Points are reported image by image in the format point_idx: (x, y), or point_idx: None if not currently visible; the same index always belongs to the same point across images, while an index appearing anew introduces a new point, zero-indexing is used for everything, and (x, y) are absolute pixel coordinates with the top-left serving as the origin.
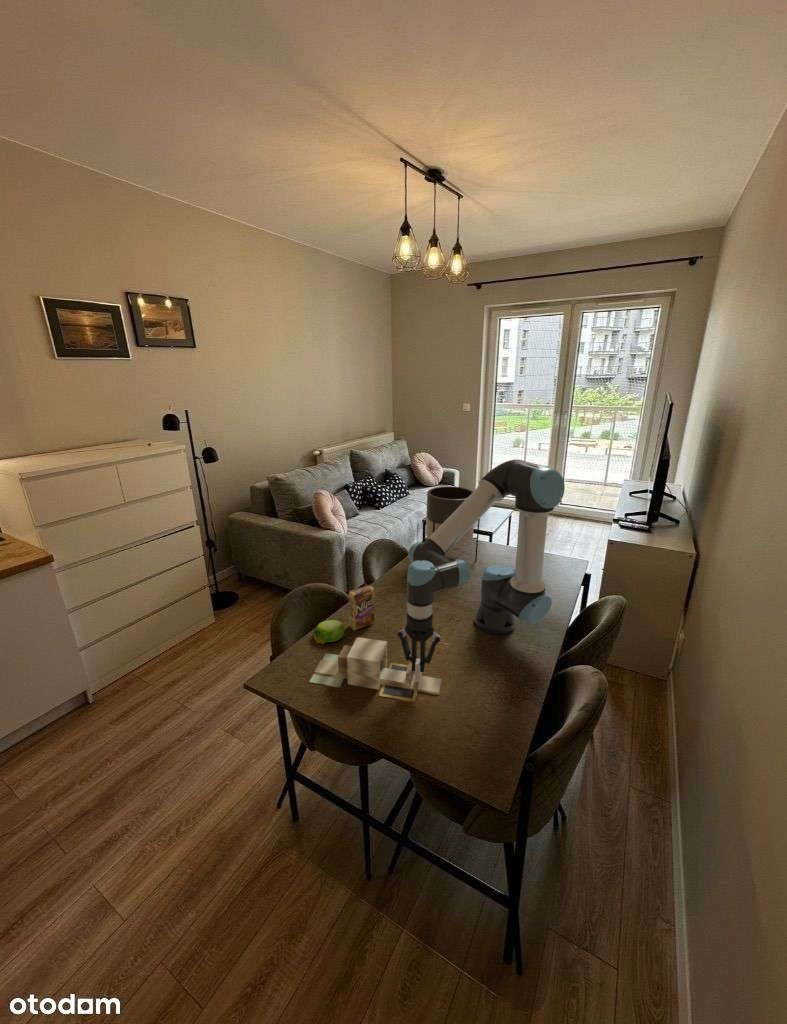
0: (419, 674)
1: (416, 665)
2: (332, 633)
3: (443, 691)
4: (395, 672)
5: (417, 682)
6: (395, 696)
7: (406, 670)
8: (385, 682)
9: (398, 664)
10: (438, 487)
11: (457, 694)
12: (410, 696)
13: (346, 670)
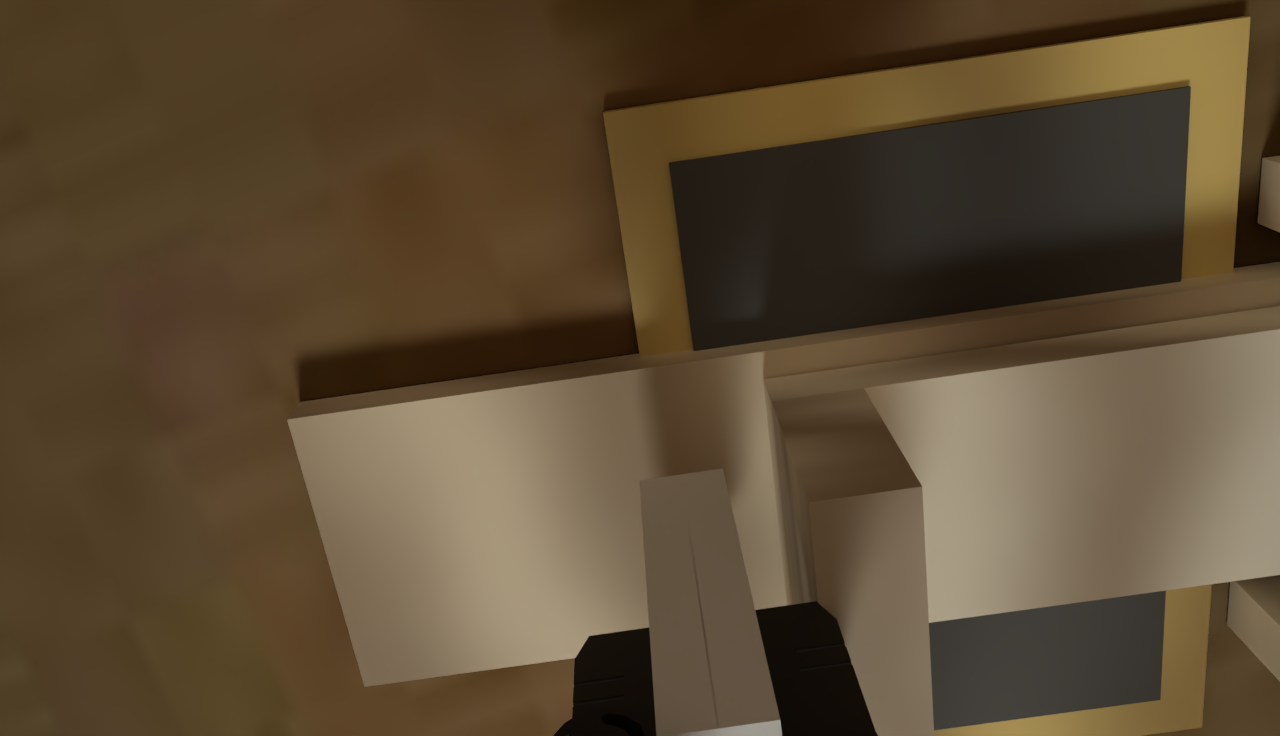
0: (650, 569)
1: (742, 699)
2: None
3: (265, 492)
4: (1096, 545)
5: None
6: (955, 103)
7: None
8: (1201, 316)
9: (1072, 732)
10: None
11: (49, 511)
12: (709, 194)
13: None
